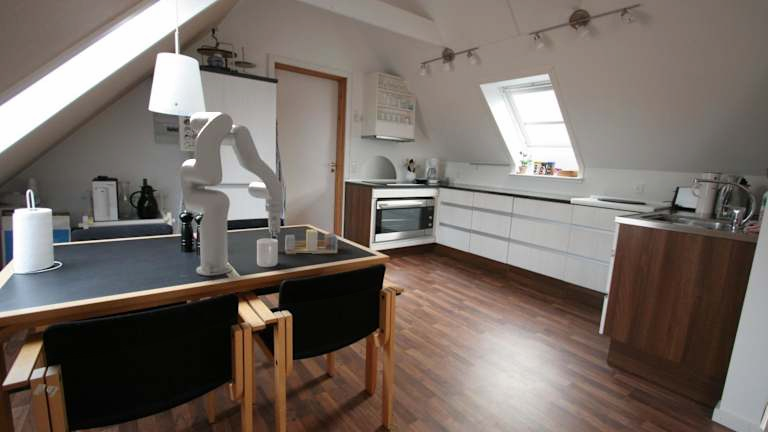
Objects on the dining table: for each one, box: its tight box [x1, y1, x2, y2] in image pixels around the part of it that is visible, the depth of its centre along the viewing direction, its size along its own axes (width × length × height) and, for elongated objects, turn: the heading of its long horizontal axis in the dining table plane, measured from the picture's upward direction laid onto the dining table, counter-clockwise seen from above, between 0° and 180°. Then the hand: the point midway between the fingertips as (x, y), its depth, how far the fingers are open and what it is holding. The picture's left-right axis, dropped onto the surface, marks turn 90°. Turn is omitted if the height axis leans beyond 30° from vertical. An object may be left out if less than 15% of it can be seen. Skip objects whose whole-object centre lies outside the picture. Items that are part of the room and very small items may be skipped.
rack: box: [284, 232, 339, 255], centre depth 177 cm, size 9×24×8 cm, turn 108°
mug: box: [256, 237, 279, 268], centre depth 151 cm, size 12×8×10 cm
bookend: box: [284, 234, 296, 250], centre depth 174 cm, size 6×4×6 cm, turn 18°
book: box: [305, 228, 319, 251], centre depth 176 cm, size 7×4×9 cm, turn 18°
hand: (273, 246), depth 172 cm, fingers closed
